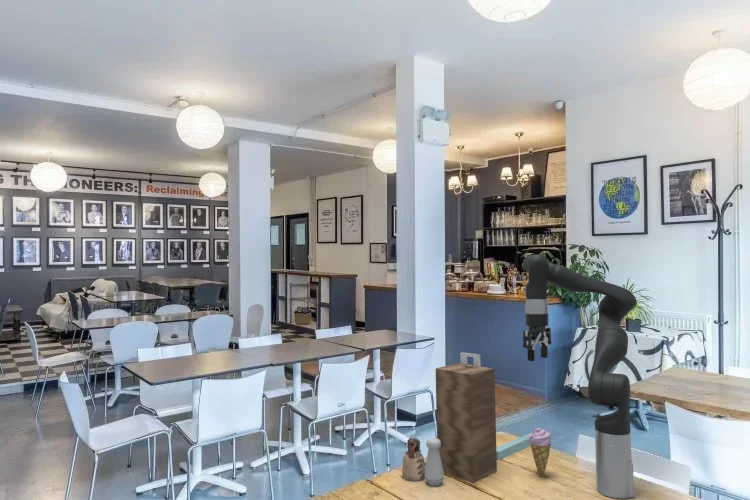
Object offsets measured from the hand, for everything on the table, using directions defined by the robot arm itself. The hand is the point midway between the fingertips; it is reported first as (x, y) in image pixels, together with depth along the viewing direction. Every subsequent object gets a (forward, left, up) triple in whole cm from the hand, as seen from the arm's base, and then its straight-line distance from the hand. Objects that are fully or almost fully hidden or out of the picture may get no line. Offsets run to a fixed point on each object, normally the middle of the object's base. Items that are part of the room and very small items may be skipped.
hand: (537, 359), depth 177 cm
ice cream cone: (0, +20, -32) cm, 38 cm away
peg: (+8, -1, -32) cm, 33 cm away
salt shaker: (+30, +34, -32) cm, 56 cm away
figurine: (+37, +31, -32) cm, 58 cm away
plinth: (+22, +22, -32) cm, 45 cm away
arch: (+20, +19, 0) cm, 28 cm away
